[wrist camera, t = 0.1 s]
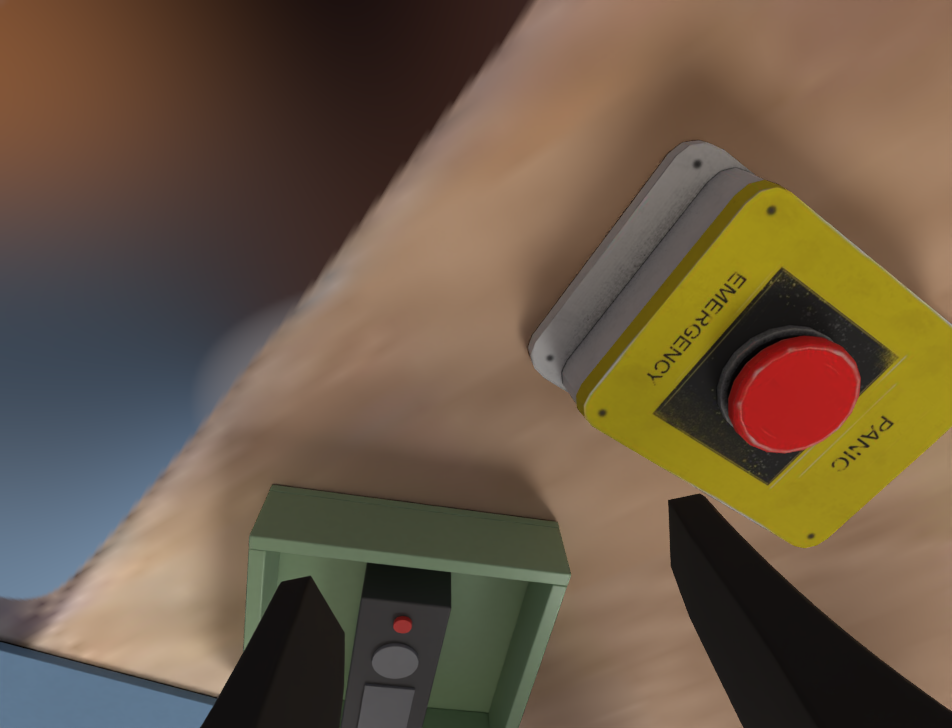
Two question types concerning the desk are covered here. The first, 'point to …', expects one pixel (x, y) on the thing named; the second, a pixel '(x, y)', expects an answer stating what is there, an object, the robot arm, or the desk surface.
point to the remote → (396, 646)
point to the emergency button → (750, 348)
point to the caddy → (434, 548)
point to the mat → (88, 696)
